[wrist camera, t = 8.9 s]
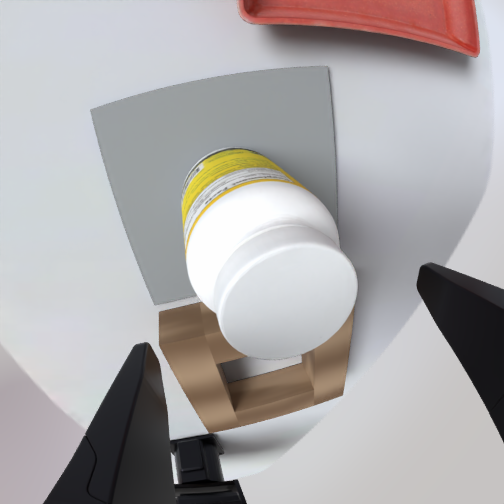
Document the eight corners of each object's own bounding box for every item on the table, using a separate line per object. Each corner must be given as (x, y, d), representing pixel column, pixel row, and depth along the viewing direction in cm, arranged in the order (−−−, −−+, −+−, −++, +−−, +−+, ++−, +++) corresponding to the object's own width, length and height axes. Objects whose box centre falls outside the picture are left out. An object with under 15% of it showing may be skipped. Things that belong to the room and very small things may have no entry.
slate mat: (335, 256, 24) (337, 259, 23) (154, 301, 22) (154, 305, 22) (324, 66, 16) (327, 65, 16) (91, 109, 15) (90, 109, 14)
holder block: (330, 370, 32) (342, 395, 29) (204, 405, 30) (209, 433, 27) (335, 267, 24) (355, 293, 21) (159, 311, 23) (159, 345, 20)
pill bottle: (281, 231, 21) (362, 351, 12) (188, 246, 20) (209, 389, 11) (279, 139, 18) (392, 208, 8) (174, 151, 17) (174, 240, 7)
